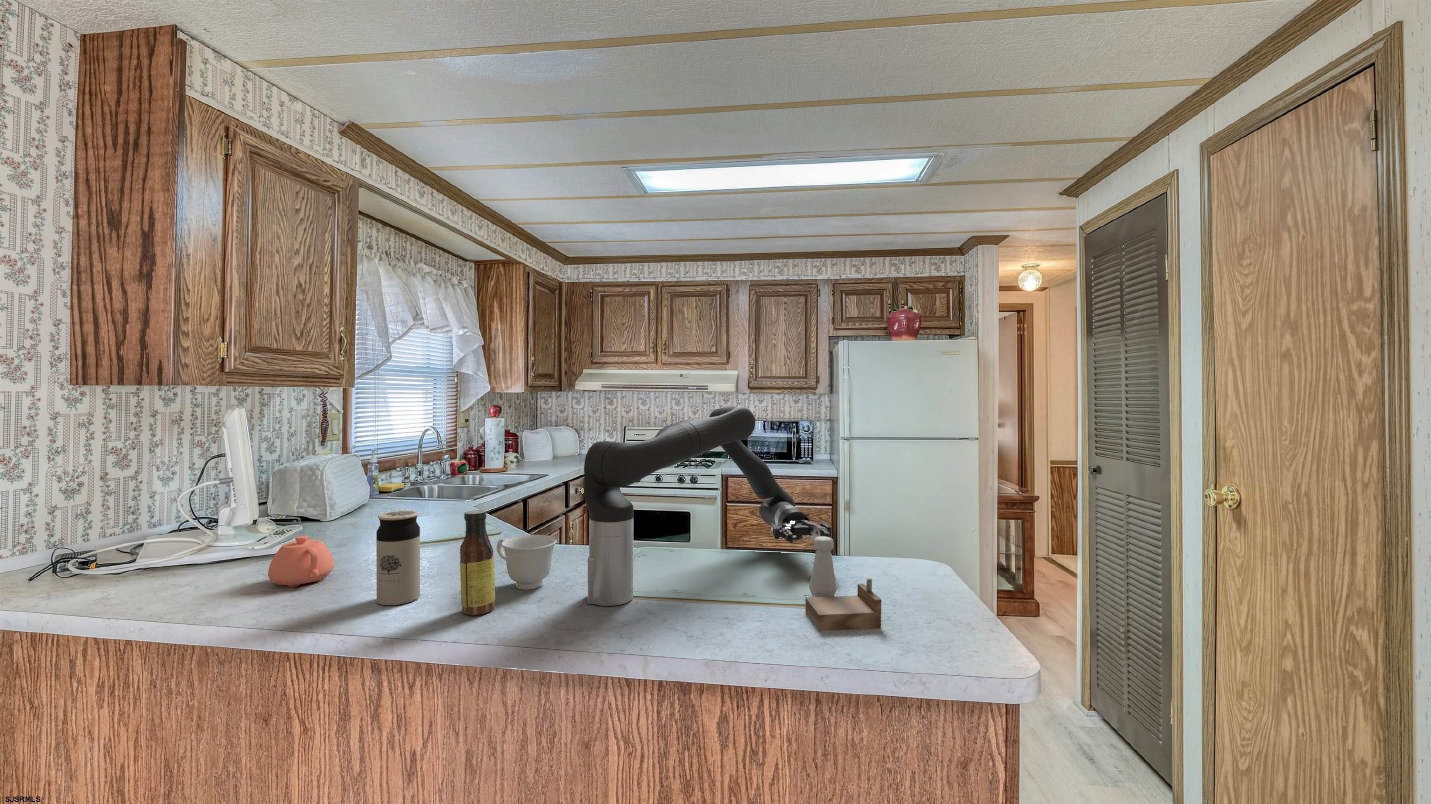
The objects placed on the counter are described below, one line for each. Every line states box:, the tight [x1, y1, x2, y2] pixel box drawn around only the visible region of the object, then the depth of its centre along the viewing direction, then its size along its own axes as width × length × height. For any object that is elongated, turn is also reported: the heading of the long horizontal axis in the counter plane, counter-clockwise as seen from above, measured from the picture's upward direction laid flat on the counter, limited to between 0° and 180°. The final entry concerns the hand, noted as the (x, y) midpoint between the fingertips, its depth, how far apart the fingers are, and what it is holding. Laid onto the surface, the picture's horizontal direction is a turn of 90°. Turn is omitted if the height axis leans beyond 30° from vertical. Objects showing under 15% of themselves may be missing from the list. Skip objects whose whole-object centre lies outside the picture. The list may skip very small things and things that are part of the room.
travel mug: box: [375, 509, 421, 606], centre depth 120 cm, size 8×8×18 cm
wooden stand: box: [804, 577, 882, 632], centre depth 112 cm, size 12×9×8 cm
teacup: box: [496, 534, 558, 590], centre depth 130 cm, size 12×15×10 cm
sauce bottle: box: [459, 509, 496, 616], centre depth 115 cm, size 7×6×20 cm
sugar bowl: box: [267, 535, 335, 588], centre depth 131 cm, size 12×14×10 cm
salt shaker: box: [808, 536, 838, 597], centre depth 124 cm, size 6×6×13 cm
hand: (809, 538), depth 135 cm, fingers open, 8 cm apart
